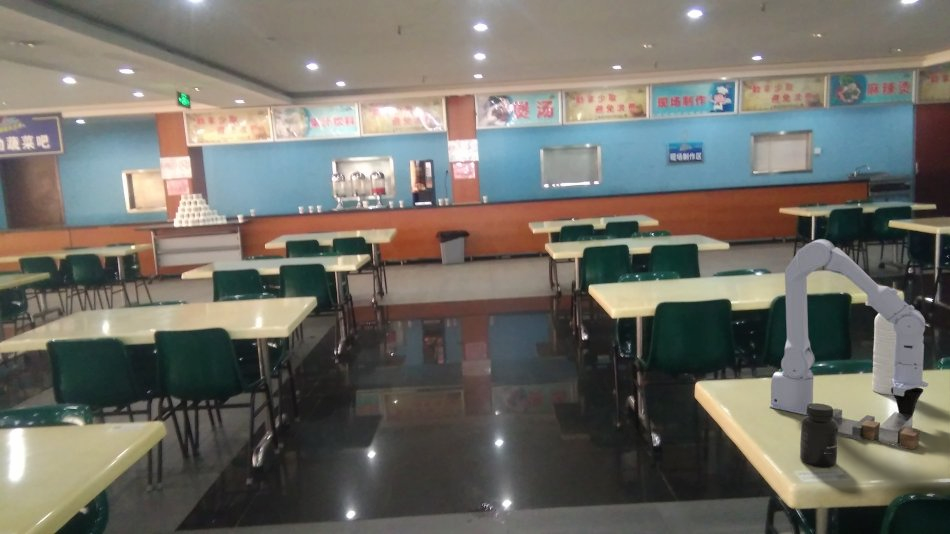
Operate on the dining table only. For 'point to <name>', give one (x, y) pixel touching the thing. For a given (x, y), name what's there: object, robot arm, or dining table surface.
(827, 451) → the supplement bottle
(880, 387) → the water bottle
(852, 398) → the dining table surface
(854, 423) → the block
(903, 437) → the wooden blocks
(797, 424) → the dining table surface
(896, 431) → the grey rectangular bar
